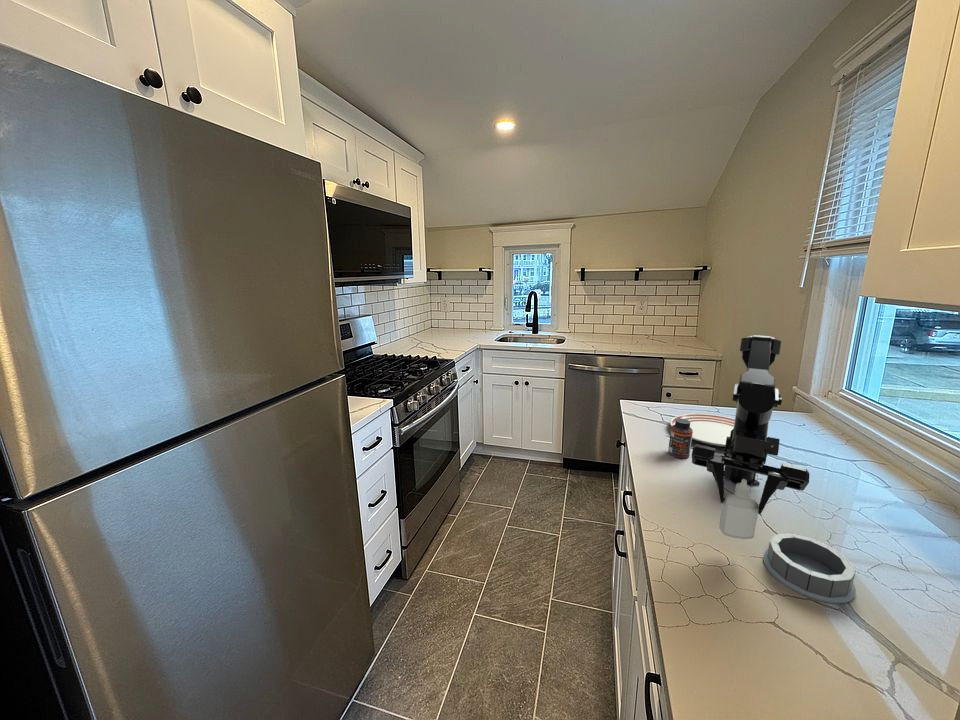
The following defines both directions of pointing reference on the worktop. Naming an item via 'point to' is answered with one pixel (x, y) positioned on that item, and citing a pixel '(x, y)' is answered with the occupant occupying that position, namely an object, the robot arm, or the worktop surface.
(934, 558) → the worktop surface
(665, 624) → the worktop surface
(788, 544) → the grey segmented round bowl
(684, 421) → the supplement bottle
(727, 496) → the eye dropper bottle
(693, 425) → the dinner plate
